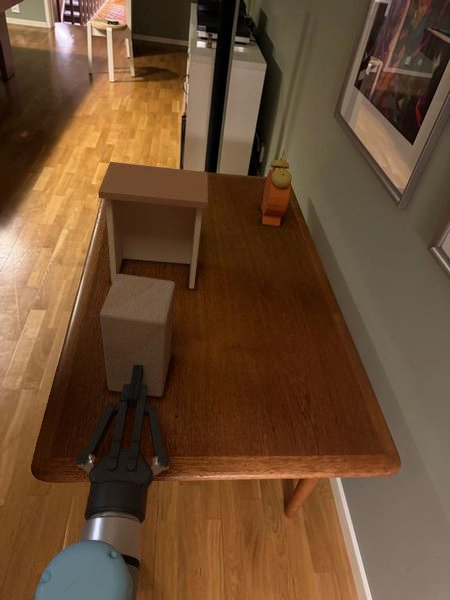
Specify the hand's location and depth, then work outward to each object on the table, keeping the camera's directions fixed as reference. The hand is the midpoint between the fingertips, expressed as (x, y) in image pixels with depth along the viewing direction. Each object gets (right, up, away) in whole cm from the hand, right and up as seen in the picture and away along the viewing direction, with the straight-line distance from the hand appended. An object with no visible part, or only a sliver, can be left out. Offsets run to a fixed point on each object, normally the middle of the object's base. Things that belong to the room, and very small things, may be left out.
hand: (138, 370), depth 67 cm
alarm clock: (+29, +38, +59) cm, 76 cm away
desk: (-3, +18, +31) cm, 36 cm away
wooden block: (-2, -2, +9) cm, 10 cm away
